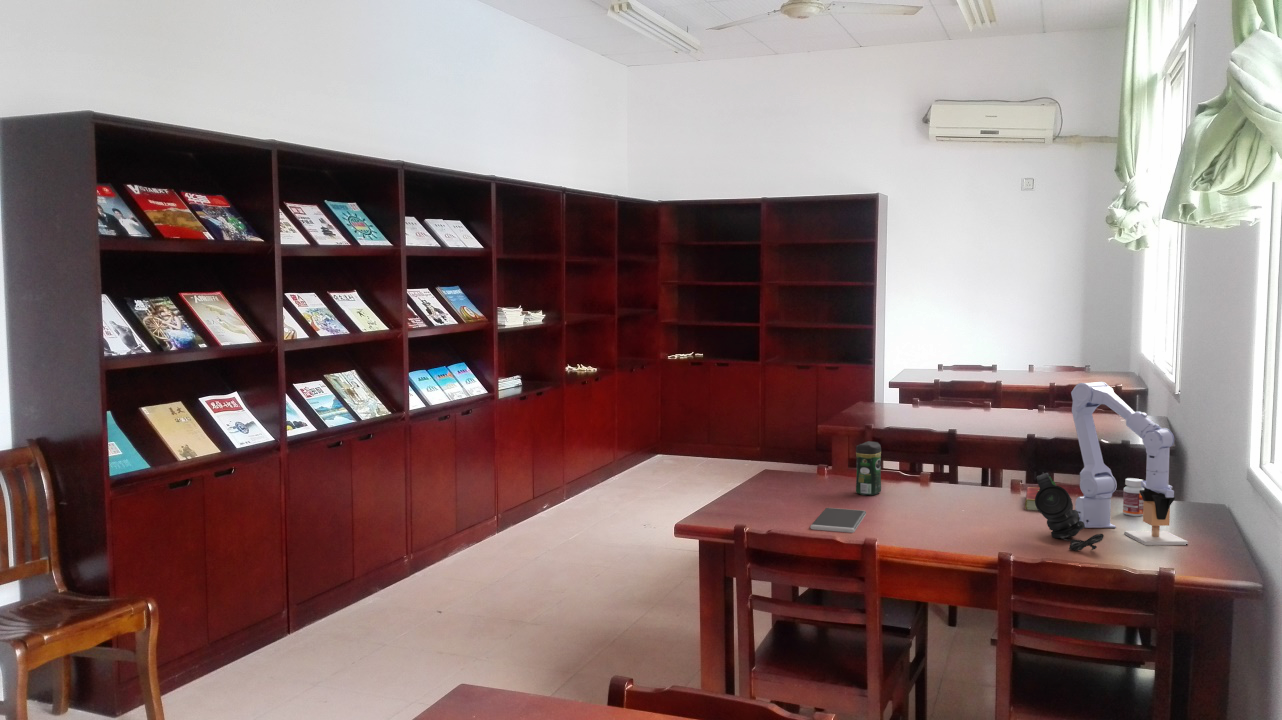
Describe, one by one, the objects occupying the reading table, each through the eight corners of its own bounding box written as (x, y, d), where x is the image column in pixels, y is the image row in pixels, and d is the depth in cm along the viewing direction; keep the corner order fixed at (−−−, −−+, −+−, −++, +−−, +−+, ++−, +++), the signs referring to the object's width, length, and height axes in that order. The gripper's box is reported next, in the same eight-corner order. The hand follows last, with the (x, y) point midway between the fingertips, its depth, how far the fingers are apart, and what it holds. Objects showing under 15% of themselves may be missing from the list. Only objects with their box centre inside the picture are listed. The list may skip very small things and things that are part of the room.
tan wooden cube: (1151, 525, 272) (1152, 505, 271) (1142, 521, 277) (1143, 501, 276) (1169, 525, 272) (1170, 504, 271) (1160, 521, 277) (1160, 501, 276)
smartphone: (866, 515, 310) (866, 510, 309) (854, 534, 284) (854, 528, 284) (825, 512, 314) (825, 507, 314) (809, 530, 289) (810, 525, 289)
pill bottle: (1143, 517, 301) (1144, 482, 300) (1121, 515, 304) (1122, 480, 304) (1145, 513, 306) (1146, 479, 305) (1124, 511, 310) (1125, 477, 309)
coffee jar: (863, 489, 346) (863, 439, 345) (883, 492, 341) (884, 441, 340) (852, 494, 338) (852, 442, 337) (873, 497, 334) (874, 444, 332)
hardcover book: (1025, 510, 313) (1025, 498, 313) (1026, 497, 332) (1026, 486, 332) (1064, 514, 309) (1065, 501, 308) (1063, 500, 328) (1064, 488, 327)
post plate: (1144, 544, 269) (1145, 531, 268) (1124, 534, 281) (1124, 520, 280) (1187, 544, 268) (1188, 531, 268) (1165, 534, 280) (1165, 520, 280)
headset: (1067, 576, 268) (1043, 508, 292) (1116, 561, 263) (1088, 493, 287) (1043, 534, 261) (1021, 468, 285) (1093, 517, 256) (1066, 451, 280)
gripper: (1185, 475, 266) (1183, 523, 267) (1158, 465, 280) (1157, 511, 281) (1160, 475, 266) (1158, 523, 267) (1134, 466, 280) (1133, 511, 281)
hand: (1156, 517), depth 274 cm, fingers closed on tan wooden cube, 5 cm apart
